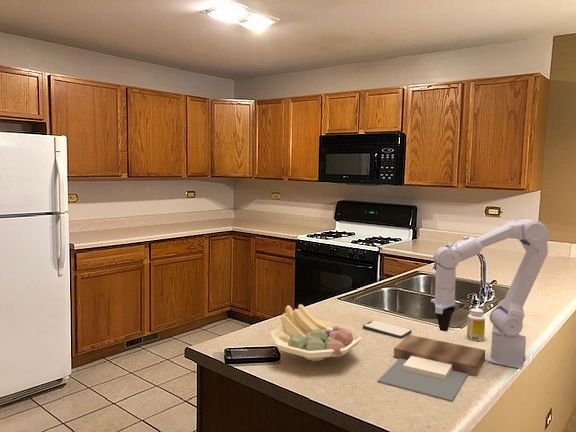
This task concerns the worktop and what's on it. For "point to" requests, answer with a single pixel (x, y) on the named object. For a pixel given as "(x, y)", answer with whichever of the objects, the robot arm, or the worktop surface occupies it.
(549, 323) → the worktop surface
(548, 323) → the worktop surface
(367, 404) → the worktop surface
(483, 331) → the supplement bottle
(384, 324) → the phone case
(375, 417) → the worktop surface
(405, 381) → the mat
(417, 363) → the cream flat block
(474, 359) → the brown wooden flat block
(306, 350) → the dish with food
